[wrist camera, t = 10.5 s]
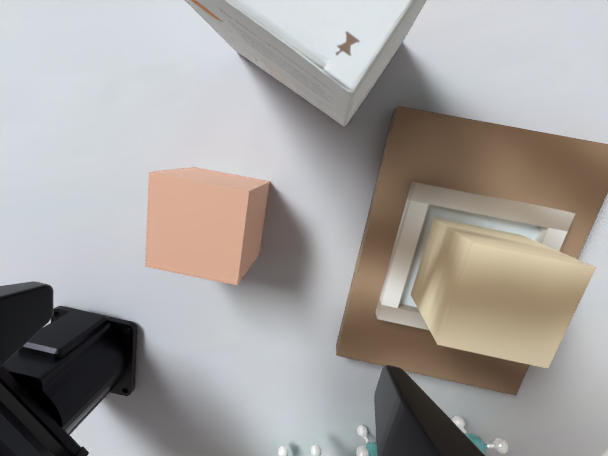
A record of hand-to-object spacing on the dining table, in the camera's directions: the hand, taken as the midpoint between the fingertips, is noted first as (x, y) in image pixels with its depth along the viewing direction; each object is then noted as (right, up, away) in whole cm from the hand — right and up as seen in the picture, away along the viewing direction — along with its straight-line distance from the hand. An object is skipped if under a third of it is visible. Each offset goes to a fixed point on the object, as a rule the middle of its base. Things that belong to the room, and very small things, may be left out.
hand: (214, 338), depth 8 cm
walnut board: (+12, +1, +11) cm, 16 cm away
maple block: (+12, +1, +10) cm, 16 cm away
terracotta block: (-3, +4, +12) cm, 13 cm away
